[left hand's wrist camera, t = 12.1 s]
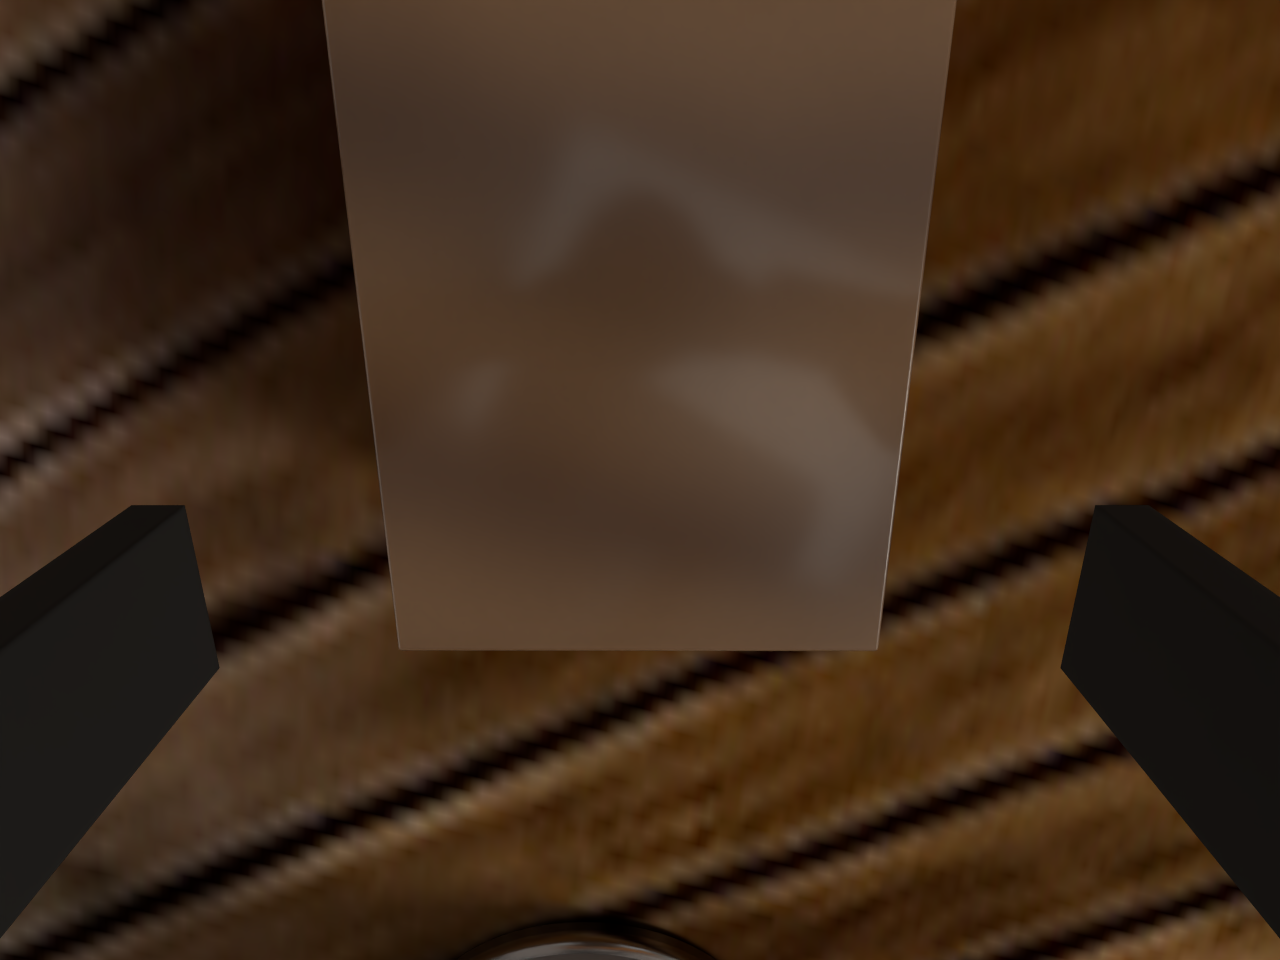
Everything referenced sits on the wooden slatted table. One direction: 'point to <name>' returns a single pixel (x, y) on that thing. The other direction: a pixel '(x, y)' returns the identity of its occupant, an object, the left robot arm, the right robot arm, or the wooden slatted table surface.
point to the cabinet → (638, 310)
